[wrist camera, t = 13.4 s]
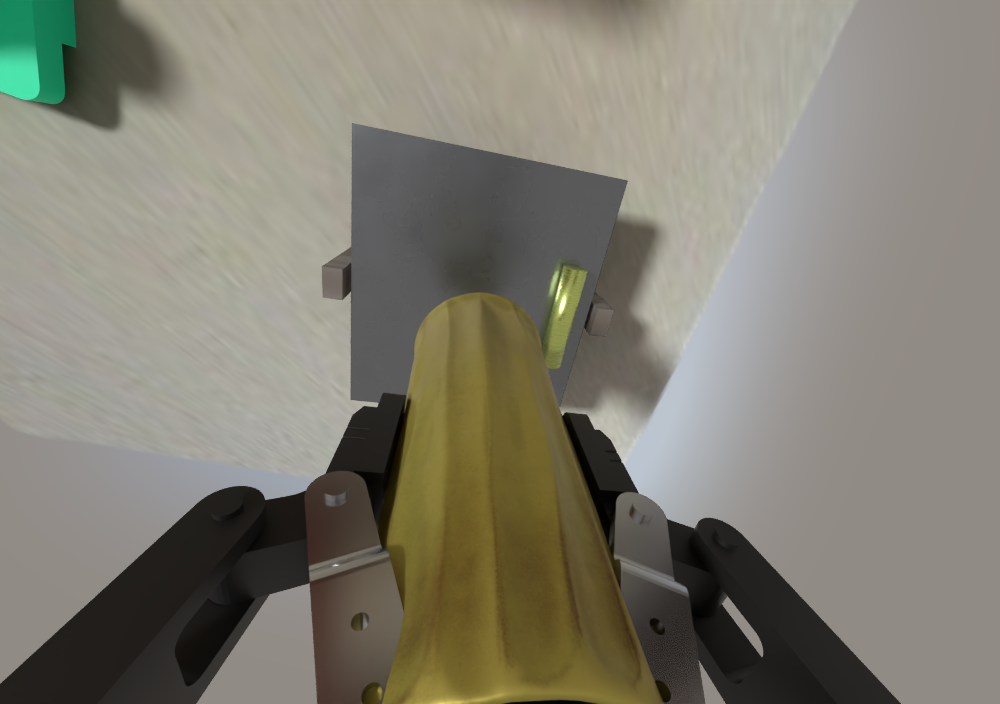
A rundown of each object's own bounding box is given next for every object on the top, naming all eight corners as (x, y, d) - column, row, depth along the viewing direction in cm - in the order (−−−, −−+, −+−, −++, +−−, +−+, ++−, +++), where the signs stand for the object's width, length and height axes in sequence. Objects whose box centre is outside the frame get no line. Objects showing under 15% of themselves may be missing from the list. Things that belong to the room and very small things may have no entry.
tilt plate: (357, 125, 21) (343, 120, 19) (621, 180, 23) (638, 181, 21) (354, 392, 29) (344, 412, 26) (553, 413, 31) (559, 433, 29)
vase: (389, 329, 17) (168, 781, 5) (506, 266, 16) (641, 606, 4) (456, 421, 20) (436, 873, 7) (559, 371, 19) (748, 783, 6)
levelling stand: (354, 160, 27) (319, 157, 20) (605, 209, 29) (643, 220, 23) (352, 338, 32) (324, 378, 26) (562, 364, 35) (582, 406, 29)
